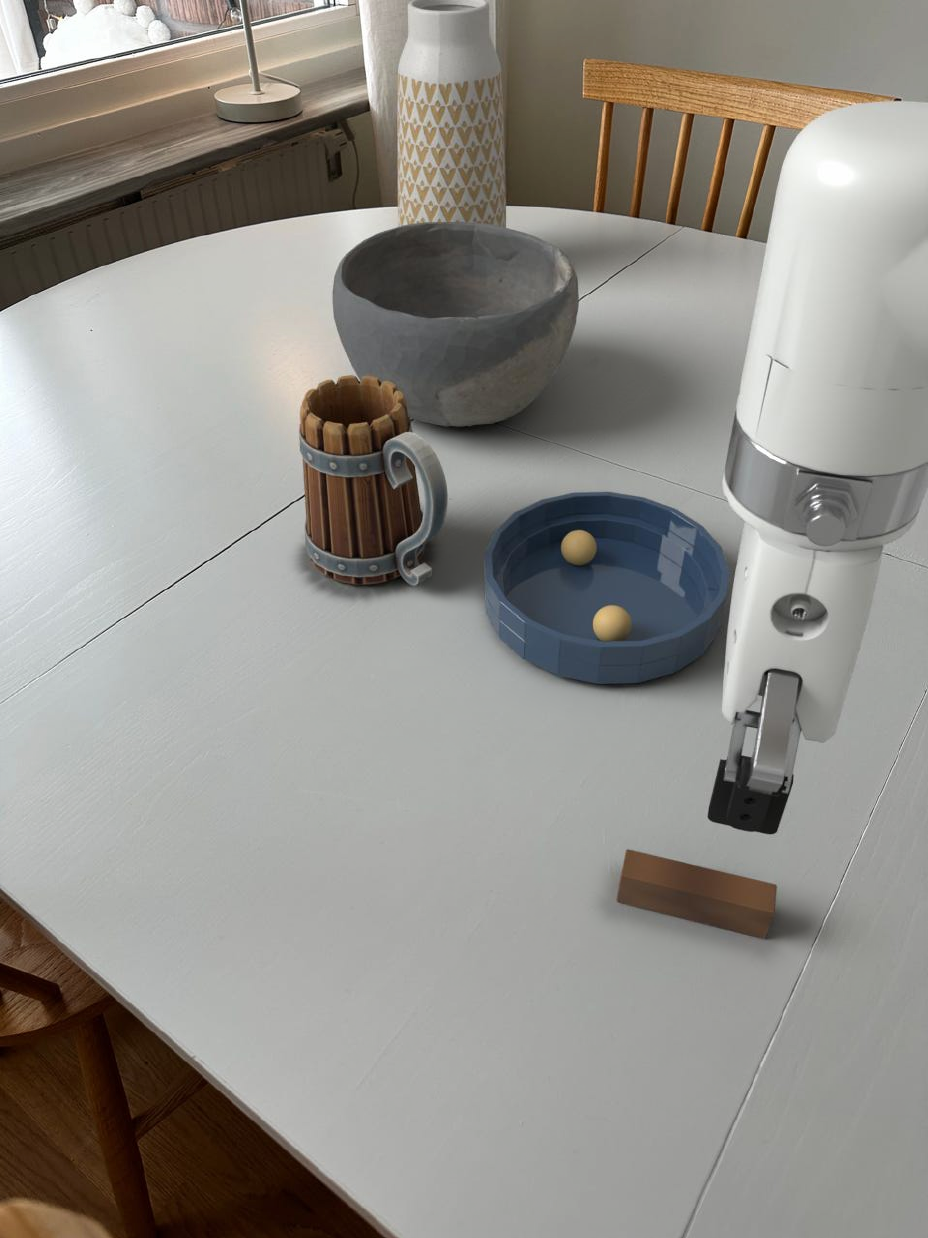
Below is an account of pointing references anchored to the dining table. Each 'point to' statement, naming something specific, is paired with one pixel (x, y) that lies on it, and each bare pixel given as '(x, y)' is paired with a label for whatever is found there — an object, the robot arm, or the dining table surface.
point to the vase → (450, 117)
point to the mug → (367, 483)
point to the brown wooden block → (697, 893)
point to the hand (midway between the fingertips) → (749, 746)
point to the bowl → (457, 317)
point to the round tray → (605, 586)
